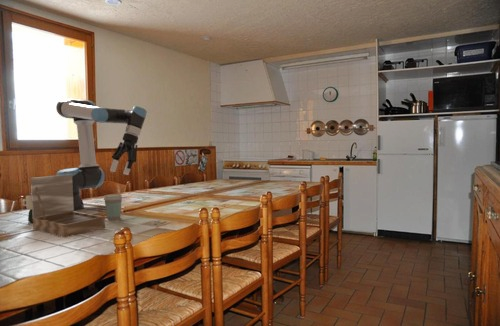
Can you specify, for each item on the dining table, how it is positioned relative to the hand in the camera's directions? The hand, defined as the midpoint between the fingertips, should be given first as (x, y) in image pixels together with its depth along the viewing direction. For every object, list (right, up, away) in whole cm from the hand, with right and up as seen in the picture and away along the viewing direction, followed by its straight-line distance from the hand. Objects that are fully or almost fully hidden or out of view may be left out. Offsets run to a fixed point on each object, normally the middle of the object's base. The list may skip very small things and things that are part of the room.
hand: (118, 173), depth 176 cm
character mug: (-36, -24, -11) cm, 45 cm away
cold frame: (-12, -24, -25) cm, 37 cm away
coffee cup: (+1, -23, -7) cm, 24 cm away
